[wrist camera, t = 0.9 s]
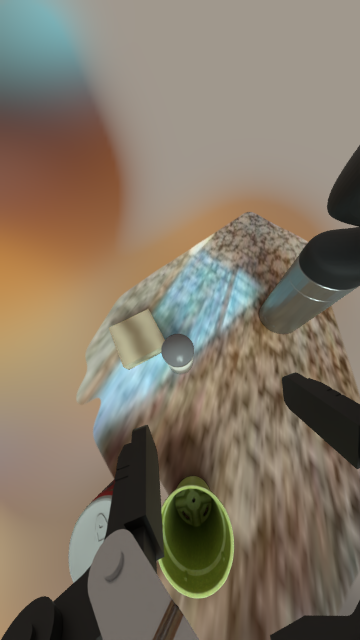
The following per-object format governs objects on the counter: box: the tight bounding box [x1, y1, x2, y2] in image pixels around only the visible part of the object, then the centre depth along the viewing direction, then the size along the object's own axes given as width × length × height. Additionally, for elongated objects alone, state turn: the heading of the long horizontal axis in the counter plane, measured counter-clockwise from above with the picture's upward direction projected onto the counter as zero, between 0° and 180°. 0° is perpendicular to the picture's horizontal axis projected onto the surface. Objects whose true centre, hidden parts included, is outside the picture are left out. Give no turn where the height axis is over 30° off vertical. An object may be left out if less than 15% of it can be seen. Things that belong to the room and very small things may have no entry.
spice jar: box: [161, 334, 194, 374], centre depth 34 cm, size 6×6×10 cm
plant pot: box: [158, 476, 234, 598], centre depth 24 cm, size 9×9×9 cm
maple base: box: [109, 309, 165, 370], centre depth 39 cm, size 10×10×4 cm
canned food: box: [69, 479, 115, 583], centre depth 24 cm, size 8×8×11 cm
